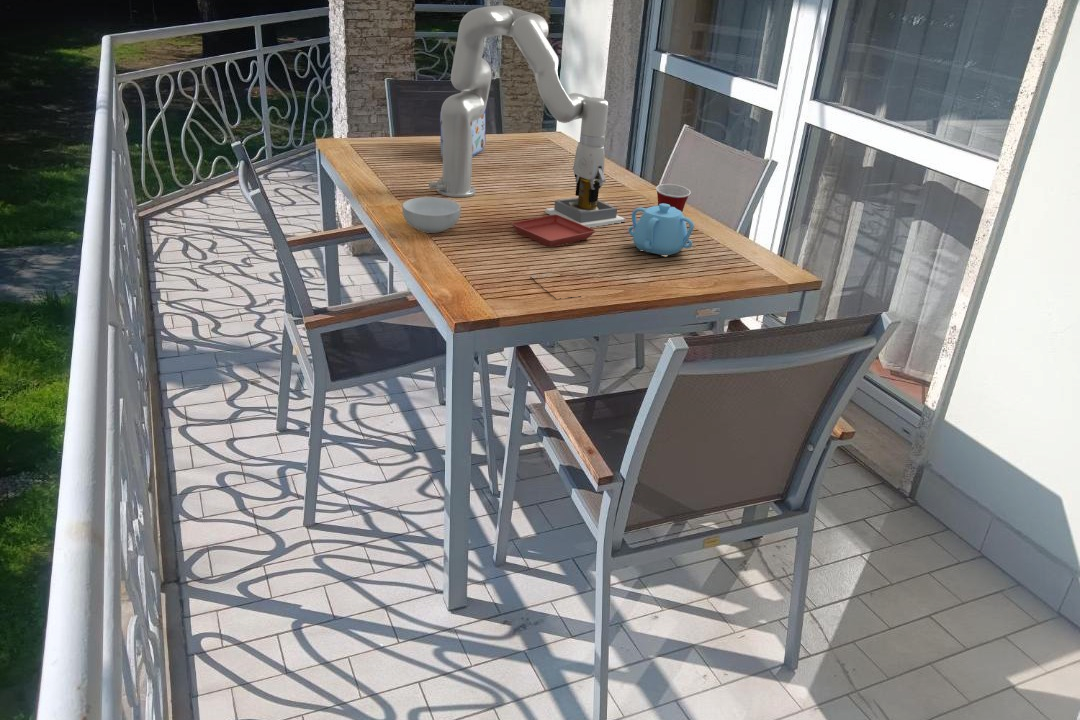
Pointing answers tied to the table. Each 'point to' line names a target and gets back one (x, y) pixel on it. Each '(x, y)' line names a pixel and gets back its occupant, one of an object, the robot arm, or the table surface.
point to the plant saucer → (553, 230)
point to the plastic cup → (672, 195)
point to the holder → (586, 213)
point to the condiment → (584, 197)
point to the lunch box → (477, 134)
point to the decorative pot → (661, 230)
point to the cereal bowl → (431, 213)
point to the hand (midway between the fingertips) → (586, 197)
